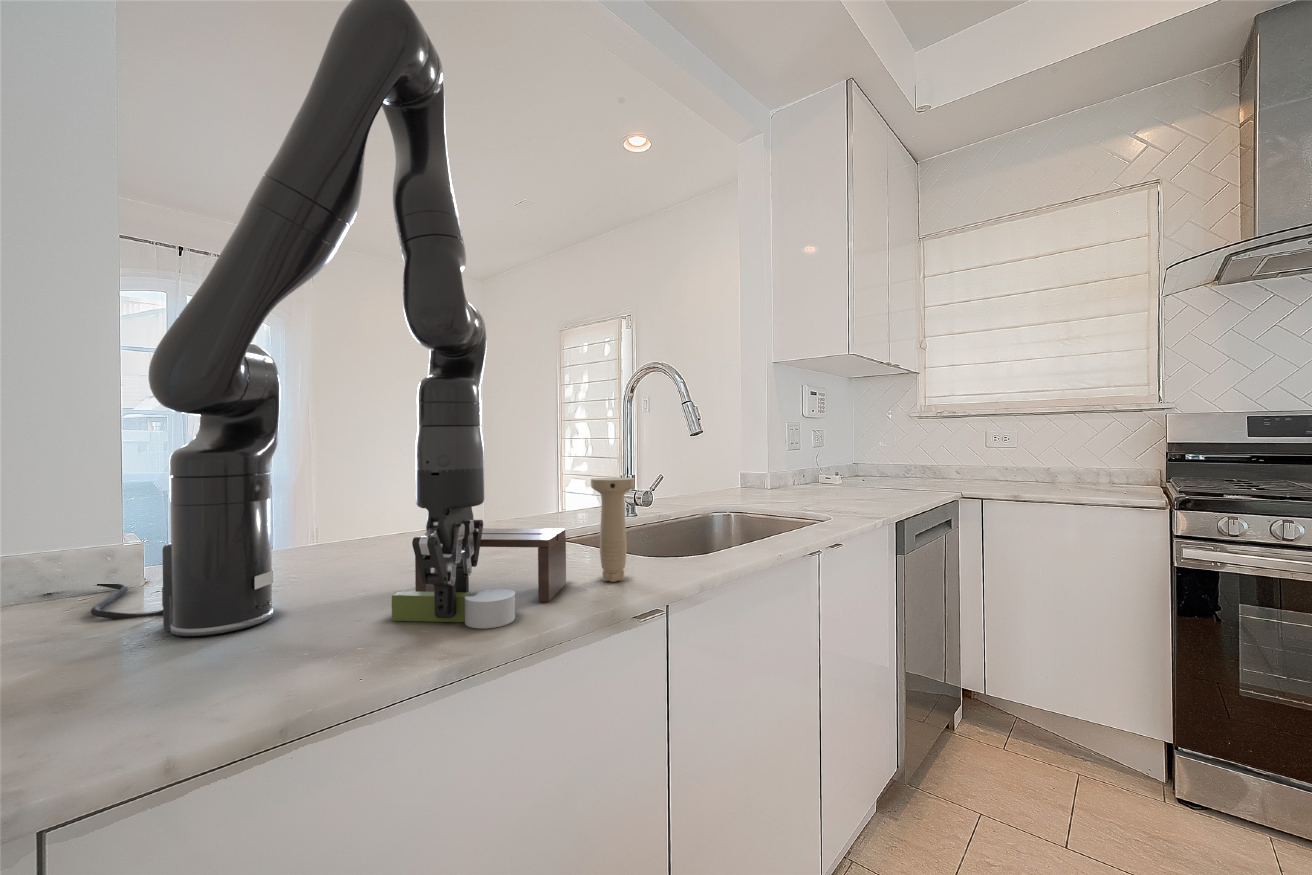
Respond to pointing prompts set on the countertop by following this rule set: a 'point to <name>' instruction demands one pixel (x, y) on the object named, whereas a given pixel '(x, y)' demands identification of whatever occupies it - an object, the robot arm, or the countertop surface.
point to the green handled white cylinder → (458, 607)
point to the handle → (612, 525)
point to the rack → (545, 539)
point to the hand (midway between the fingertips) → (452, 611)
